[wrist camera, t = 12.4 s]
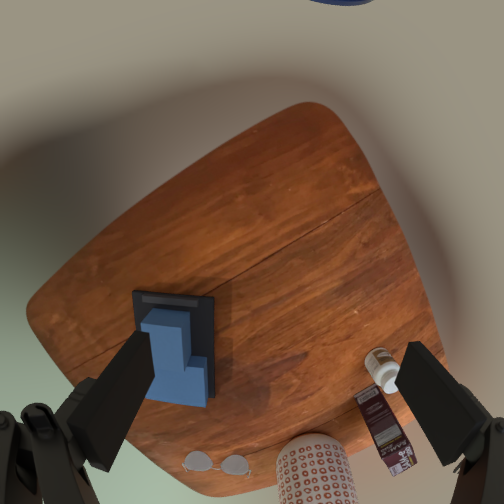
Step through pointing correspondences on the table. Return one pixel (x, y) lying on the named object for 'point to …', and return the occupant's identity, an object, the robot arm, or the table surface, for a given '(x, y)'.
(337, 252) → the table surface
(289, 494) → the white patterned vase
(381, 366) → the pill bottle
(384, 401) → the supplement box
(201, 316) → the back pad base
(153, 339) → the blue block
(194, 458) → the sunglasses
